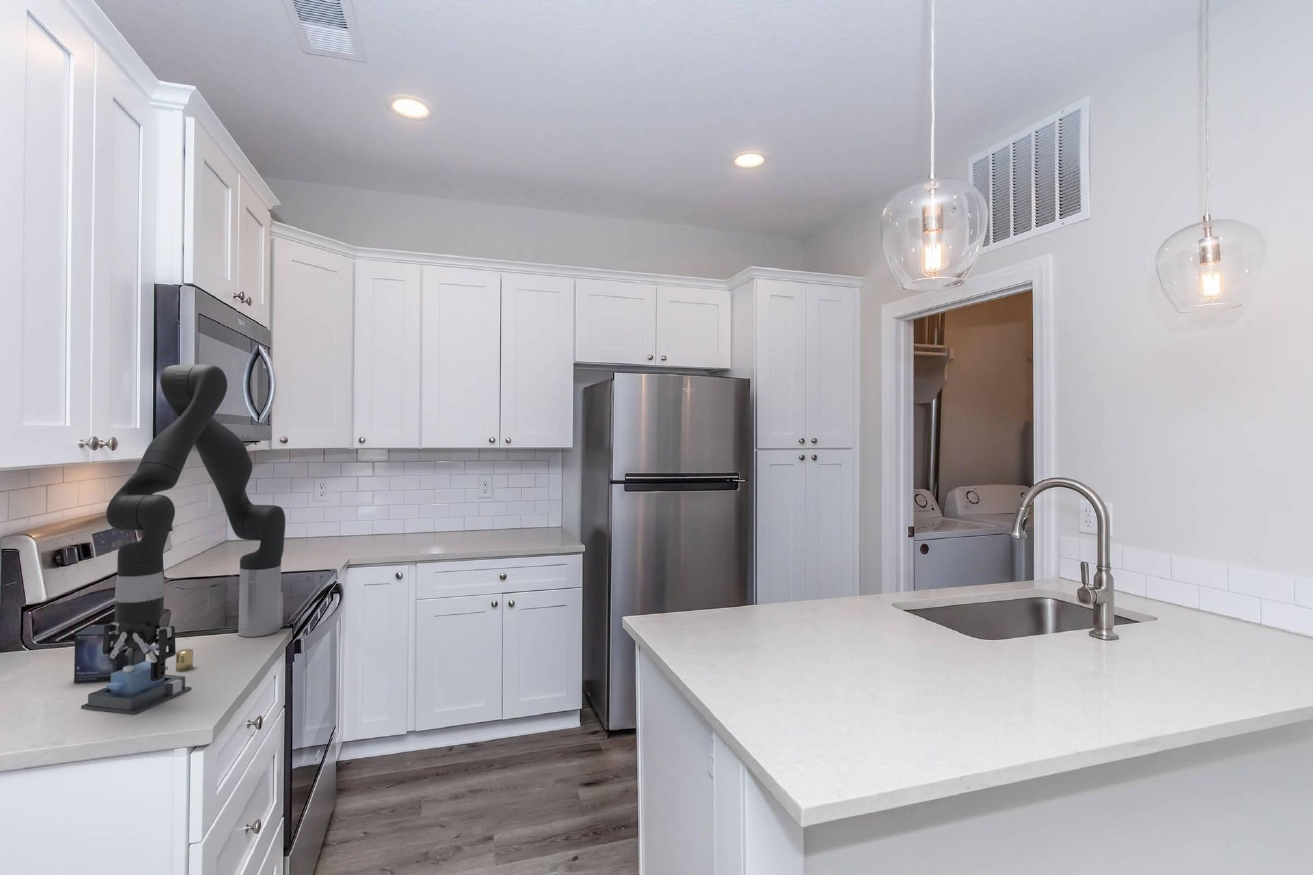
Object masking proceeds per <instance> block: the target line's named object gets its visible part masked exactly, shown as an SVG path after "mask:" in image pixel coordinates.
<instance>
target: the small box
mask: <svg viewBox="0 0 1313 875" xmlns="http://www.w3.org/2000/svg"><path fill="white" fill-rule="evenodd" d="M107 624H108V623H107ZM107 624H91V625H89V626H88V627H85V628H84V629H82V630H81V631H78V632H77V633H75V634H74V671H73V672H74V673H73V674H74V677H73V683H74V684H78V683H93V682H95V683H97V682H98V683H99V682H111V673H113V659H112V658H111V657H110V655H109V654H106V655H104V654H103V637H104V626H105V625H107ZM111 646H113V641H112V642H111V643H110V647H111ZM125 655H126V656H128V666H129V665H133V666H134V665H136V664H139V663H142V662H145V661H147V660H146V658H147V654H145V653H144V652H143V651H142V649H137V648H130V650H129V651H128V652H127V654H125Z"/></svg>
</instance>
